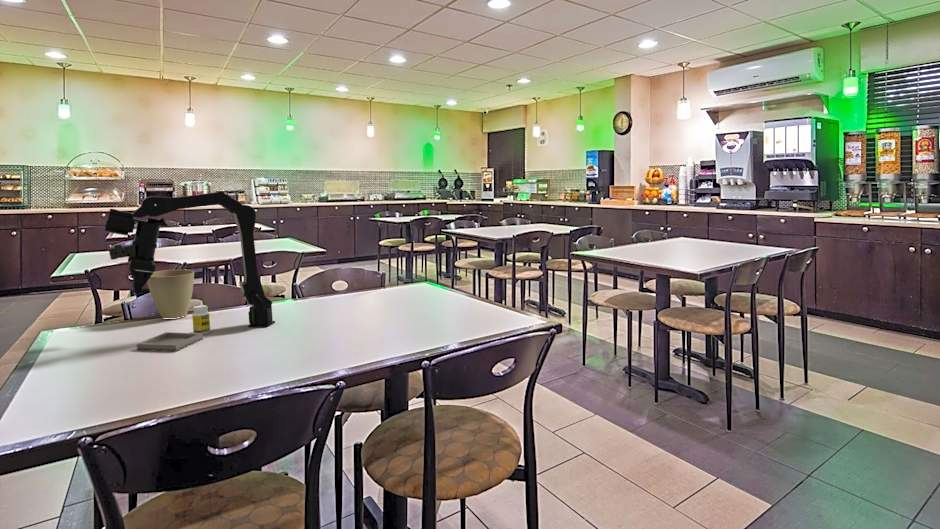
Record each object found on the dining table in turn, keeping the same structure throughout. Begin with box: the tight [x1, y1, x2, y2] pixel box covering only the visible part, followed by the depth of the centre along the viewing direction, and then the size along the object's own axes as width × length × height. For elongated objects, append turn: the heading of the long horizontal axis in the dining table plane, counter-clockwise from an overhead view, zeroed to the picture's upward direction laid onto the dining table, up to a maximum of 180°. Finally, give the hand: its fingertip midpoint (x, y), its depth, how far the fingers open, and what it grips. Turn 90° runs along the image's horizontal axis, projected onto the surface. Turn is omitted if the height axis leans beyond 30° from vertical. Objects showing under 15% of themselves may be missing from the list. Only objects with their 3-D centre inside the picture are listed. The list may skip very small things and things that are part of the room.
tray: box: [136, 331, 204, 352], centre depth 156 cm, size 12×12×2 cm
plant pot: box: [146, 269, 195, 319], centre depth 187 cm, size 15×15×16 cm
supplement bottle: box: [191, 304, 211, 335], centre depth 168 cm, size 5×5×8 cm
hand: (135, 290), depth 157 cm, fingers open, 9 cm apart
